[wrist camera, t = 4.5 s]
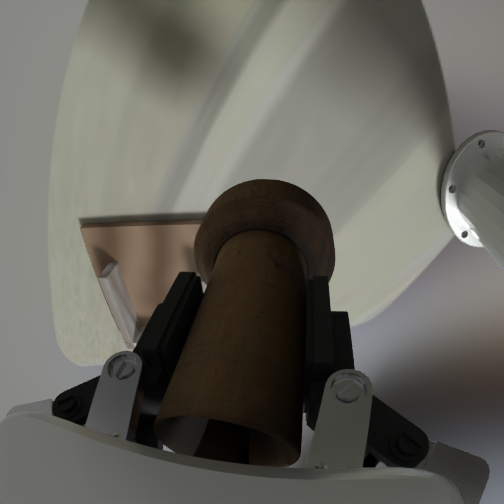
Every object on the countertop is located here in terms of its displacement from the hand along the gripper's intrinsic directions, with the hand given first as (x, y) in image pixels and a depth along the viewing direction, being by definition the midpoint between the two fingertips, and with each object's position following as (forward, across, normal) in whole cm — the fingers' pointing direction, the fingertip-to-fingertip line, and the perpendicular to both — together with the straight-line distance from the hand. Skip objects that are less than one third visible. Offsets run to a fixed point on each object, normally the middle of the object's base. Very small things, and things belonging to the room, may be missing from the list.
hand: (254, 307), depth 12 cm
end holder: (+18, +13, +13) cm, 26 cm away
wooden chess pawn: (+6, 0, 0) cm, 6 cm away
